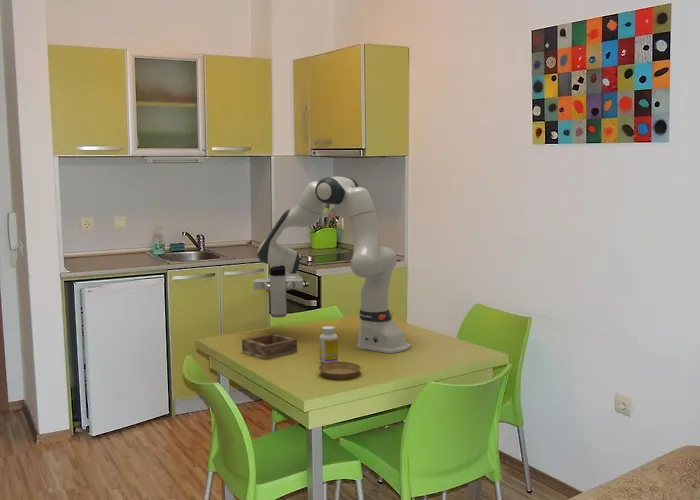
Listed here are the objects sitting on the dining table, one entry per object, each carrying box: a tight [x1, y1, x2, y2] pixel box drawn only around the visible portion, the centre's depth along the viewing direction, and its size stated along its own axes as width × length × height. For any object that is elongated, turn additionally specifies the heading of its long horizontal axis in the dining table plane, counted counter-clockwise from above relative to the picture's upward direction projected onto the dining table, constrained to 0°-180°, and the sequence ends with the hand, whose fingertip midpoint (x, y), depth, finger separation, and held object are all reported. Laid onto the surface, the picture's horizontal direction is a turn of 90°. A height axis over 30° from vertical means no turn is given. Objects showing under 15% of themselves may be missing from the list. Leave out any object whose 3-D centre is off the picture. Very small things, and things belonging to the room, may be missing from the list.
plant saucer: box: [318, 361, 362, 380], centre depth 250 cm, size 15×15×3 cm
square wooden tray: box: [241, 332, 298, 360], centre depth 278 cm, size 15×15×5 cm
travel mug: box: [269, 265, 287, 318], centre depth 287 cm, size 6×7×20 cm
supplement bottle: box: [319, 325, 339, 364], centre depth 264 cm, size 7×7×13 cm
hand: (277, 287), depth 286 cm, fingers closed on travel mug, 6 cm apart
